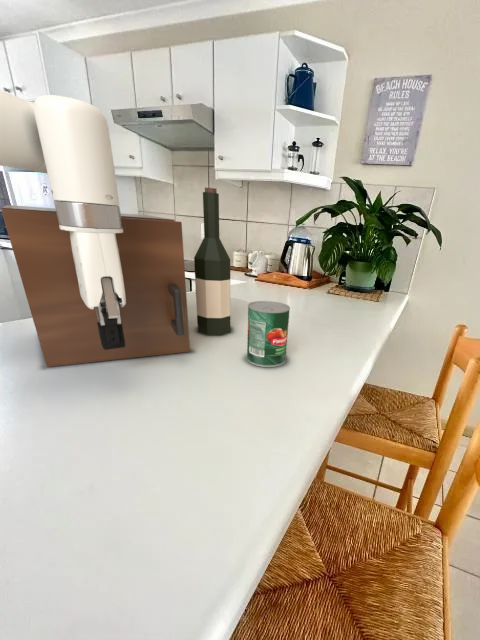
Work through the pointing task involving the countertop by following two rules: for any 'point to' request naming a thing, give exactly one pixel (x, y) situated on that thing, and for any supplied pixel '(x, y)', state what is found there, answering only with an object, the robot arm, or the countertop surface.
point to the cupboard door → (80, 321)
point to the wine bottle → (212, 273)
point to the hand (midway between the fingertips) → (113, 346)
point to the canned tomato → (267, 333)
